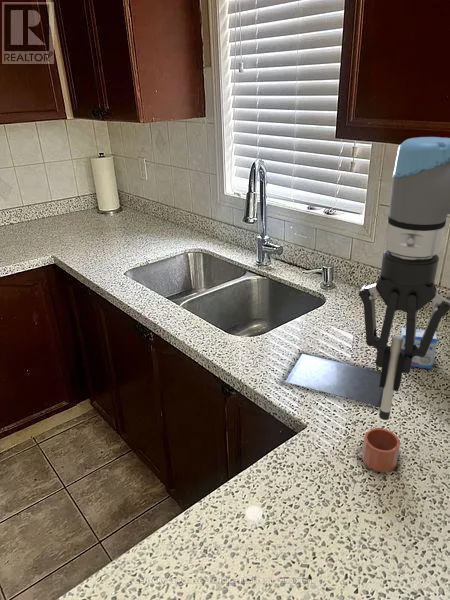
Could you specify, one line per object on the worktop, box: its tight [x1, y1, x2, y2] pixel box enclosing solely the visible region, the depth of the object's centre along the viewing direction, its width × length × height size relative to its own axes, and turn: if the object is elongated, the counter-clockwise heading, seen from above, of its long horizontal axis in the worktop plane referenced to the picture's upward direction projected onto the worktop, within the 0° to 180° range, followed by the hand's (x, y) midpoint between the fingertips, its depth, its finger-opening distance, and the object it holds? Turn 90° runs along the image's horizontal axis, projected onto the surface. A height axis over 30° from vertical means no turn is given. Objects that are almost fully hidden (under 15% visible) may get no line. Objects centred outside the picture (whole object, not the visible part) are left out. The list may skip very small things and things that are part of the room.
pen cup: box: [361, 427, 401, 473], centre depth 81 cm, size 6×6×6 cm
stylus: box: [378, 335, 403, 421], centre depth 74 cm, size 2×2×15 cm
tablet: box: [284, 353, 384, 408], centre depth 104 cm, size 22×14×1 cm, turn 63°
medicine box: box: [400, 327, 439, 370], centre depth 109 cm, size 8×4×9 cm, turn 73°
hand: (390, 384), depth 75 cm, fingers closed on stylus, 1 cm apart
